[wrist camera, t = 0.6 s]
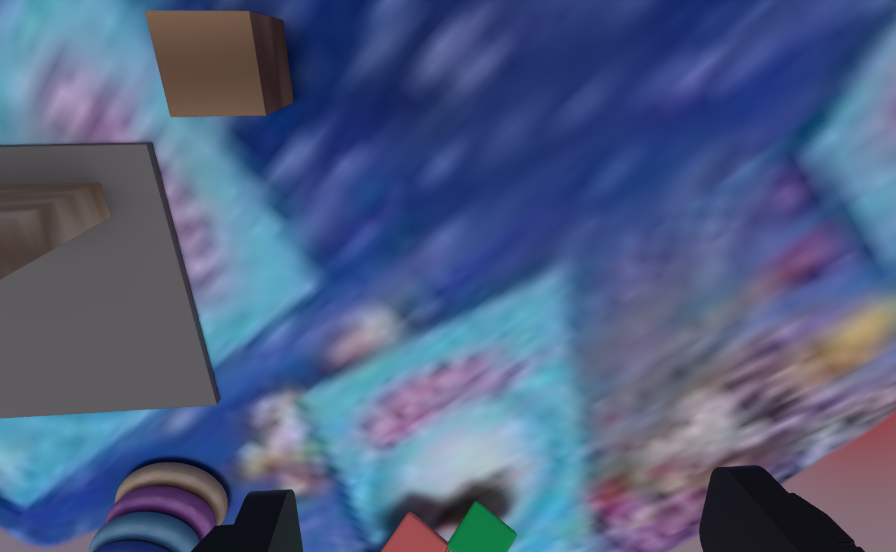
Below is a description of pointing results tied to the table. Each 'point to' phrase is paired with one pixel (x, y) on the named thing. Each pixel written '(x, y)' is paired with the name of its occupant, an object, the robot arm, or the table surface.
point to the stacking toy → (162, 510)
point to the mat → (101, 297)
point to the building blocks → (472, 543)
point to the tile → (45, 219)
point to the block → (221, 62)
